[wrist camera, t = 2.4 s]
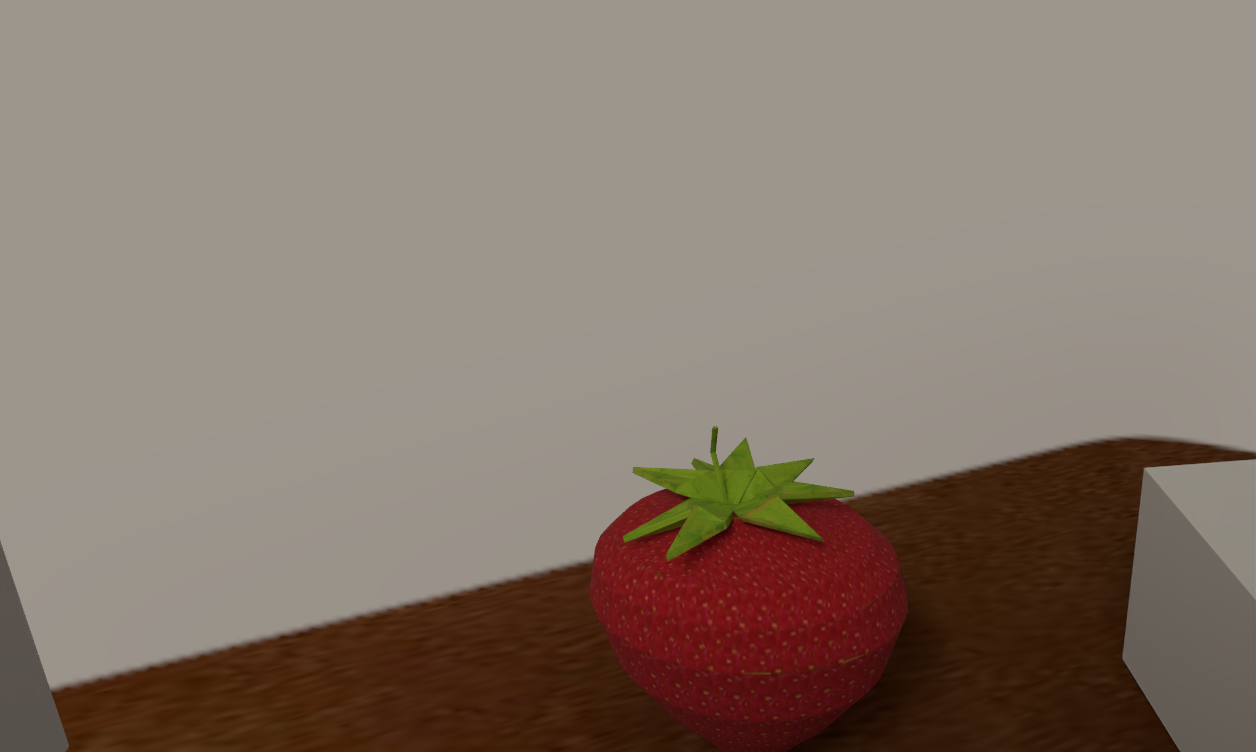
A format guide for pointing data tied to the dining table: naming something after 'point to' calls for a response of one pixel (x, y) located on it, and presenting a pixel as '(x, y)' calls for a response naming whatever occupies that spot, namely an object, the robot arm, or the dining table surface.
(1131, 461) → the dining table surface
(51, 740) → the robot arm
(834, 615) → the strawberry
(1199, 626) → the block
